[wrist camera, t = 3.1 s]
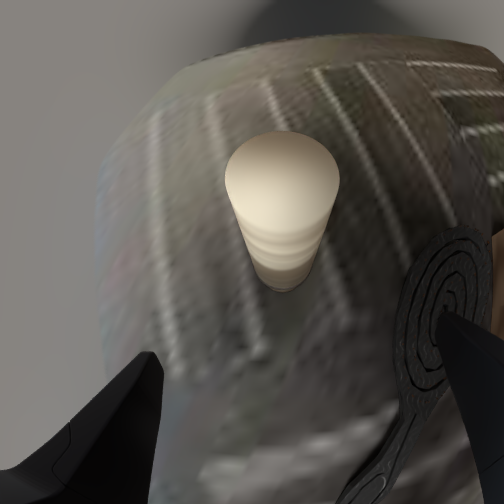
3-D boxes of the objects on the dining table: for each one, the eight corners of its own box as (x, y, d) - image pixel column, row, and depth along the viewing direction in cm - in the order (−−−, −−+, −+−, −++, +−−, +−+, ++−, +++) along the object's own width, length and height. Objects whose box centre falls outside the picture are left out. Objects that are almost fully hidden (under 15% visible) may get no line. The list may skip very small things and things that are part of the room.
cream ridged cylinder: (302, 302, 20) (333, 239, 8) (251, 291, 20) (208, 215, 8) (312, 252, 21) (344, 140, 9) (263, 242, 21) (240, 124, 10)
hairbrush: (295, 524, 12) (437, 201, 17) (295, 499, 16) (418, 219, 21) (389, 537, 11) (512, 245, 15) (378, 515, 14) (488, 256, 19)
